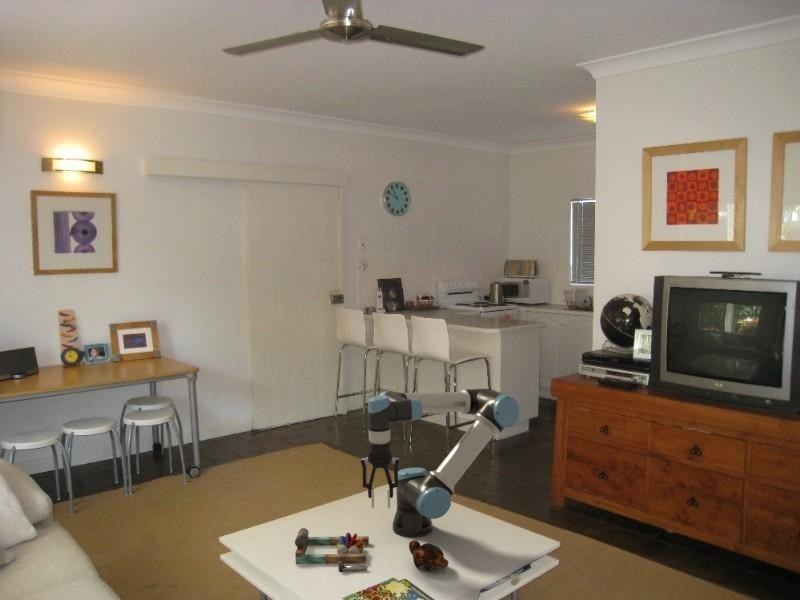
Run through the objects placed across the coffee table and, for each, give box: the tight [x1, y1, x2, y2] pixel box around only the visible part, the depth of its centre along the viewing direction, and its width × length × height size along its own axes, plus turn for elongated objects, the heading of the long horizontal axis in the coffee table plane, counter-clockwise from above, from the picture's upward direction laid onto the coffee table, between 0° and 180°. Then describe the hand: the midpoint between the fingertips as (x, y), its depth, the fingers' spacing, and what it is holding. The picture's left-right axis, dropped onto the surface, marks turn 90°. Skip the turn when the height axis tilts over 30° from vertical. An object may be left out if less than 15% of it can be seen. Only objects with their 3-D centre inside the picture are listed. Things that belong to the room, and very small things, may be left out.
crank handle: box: [337, 561, 369, 573], centre depth 222 cm, size 10×2×3 cm, turn 89°
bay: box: [294, 527, 370, 565], centre depth 235 cm, size 25×16×8 cm, turn 89°
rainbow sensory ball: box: [336, 532, 365, 554], centre depth 235 cm, size 8×10×7 cm
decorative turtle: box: [408, 539, 449, 572], centre depth 224 cm, size 10×15×8 cm, turn 60°
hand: (380, 506), depth 234 cm, fingers open, 5 cm apart
